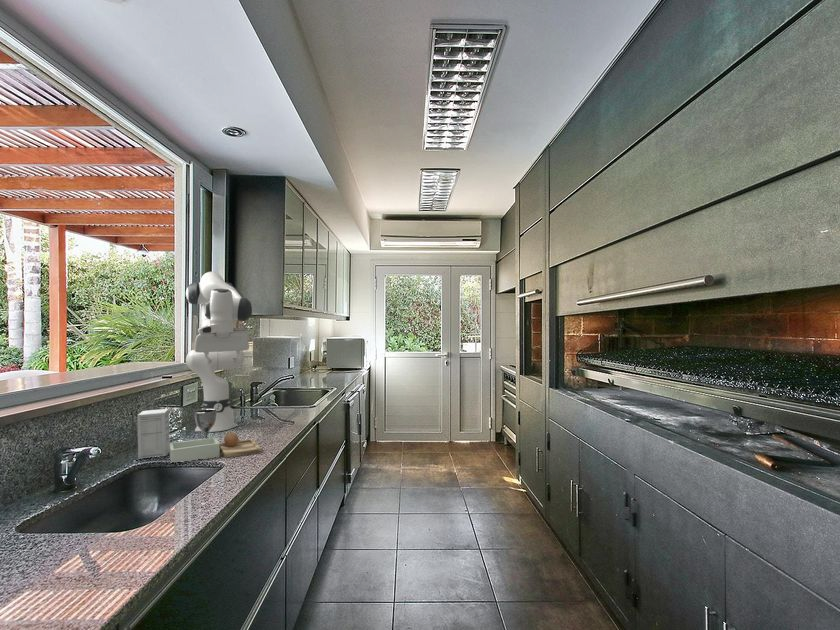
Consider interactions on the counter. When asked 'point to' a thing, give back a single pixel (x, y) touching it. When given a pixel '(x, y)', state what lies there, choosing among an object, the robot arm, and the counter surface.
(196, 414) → the wine glass
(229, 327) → the robot arm
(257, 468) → the counter surface
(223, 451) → the tray
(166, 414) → the supplement box
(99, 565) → the counter surface
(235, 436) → the egg
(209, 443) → the bin
